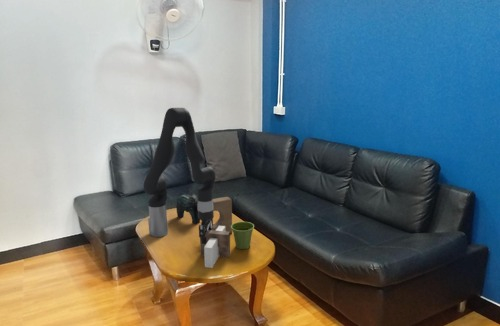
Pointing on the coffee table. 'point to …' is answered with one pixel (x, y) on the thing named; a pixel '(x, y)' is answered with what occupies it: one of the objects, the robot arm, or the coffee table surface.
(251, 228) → the plant pot
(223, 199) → the decorative block
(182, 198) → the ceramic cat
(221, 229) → the white notched plate
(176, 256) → the coffee table surface
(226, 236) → the walnut notched plate
